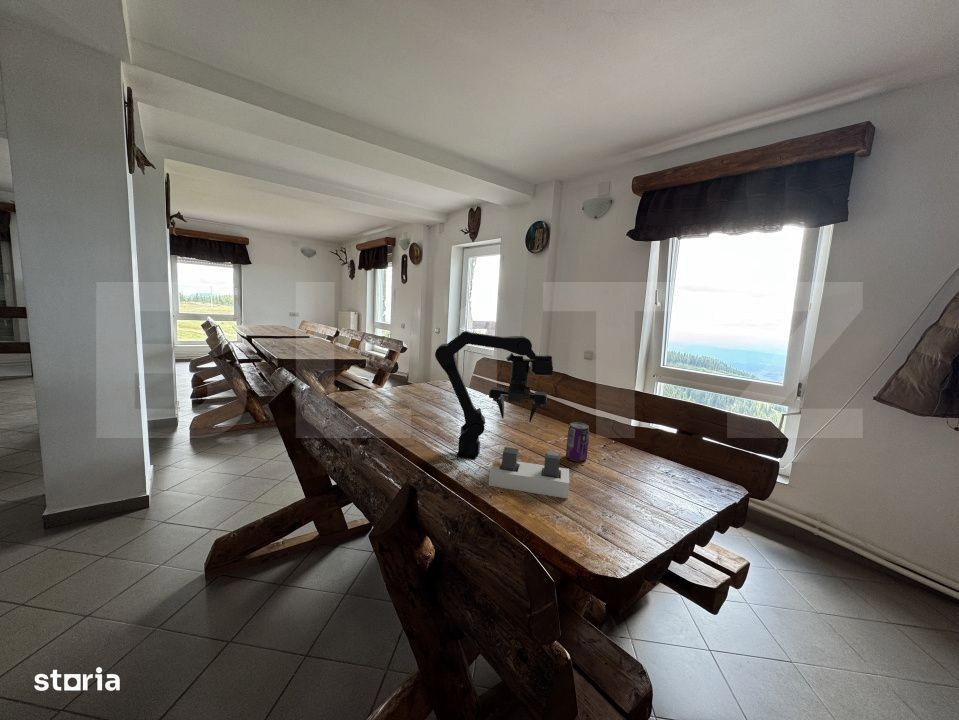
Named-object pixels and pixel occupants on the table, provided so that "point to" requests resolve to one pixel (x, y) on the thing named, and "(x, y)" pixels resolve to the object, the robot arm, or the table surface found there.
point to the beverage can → (577, 441)
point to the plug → (551, 464)
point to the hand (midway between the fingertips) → (516, 420)
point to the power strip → (527, 476)
